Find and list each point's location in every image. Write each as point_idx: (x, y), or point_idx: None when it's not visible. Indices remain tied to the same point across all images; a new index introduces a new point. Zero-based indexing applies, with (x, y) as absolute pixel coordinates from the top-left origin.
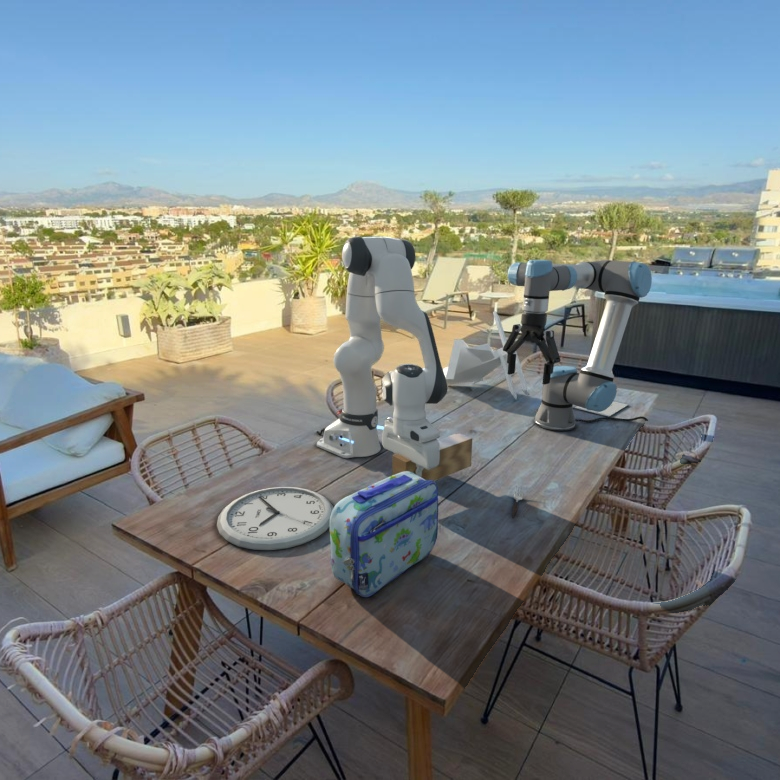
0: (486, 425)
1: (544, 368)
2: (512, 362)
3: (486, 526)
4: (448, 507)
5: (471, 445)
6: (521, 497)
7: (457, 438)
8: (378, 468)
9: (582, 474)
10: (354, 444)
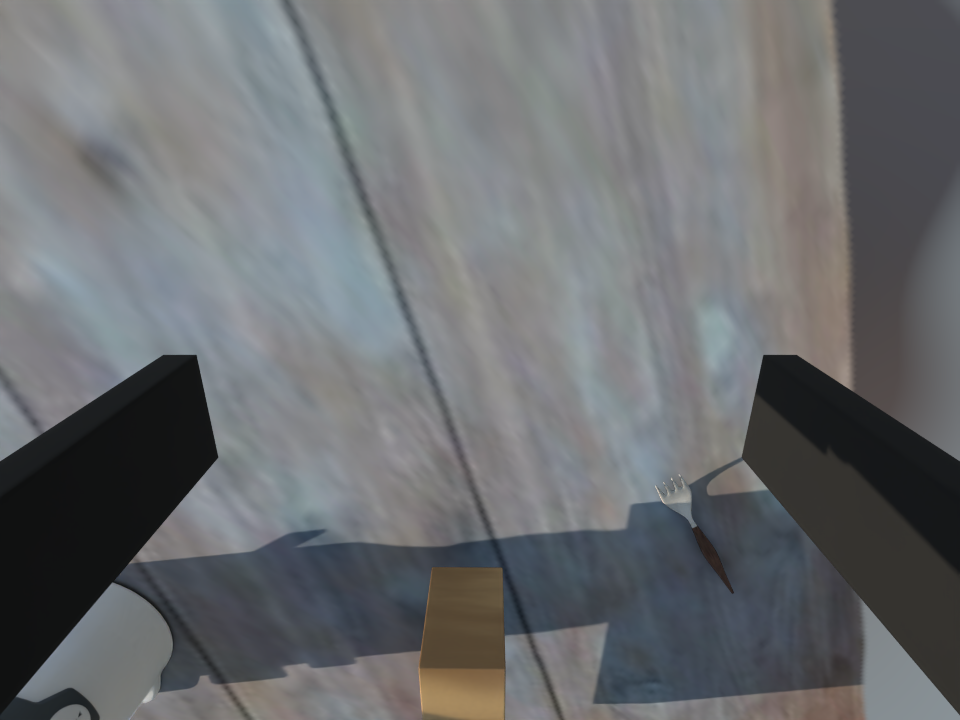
0: (45, 9)
1: (899, 630)
2: (101, 530)
3: (694, 644)
4: (567, 652)
5: (504, 642)
6: (686, 492)
7: (465, 703)
8: (267, 659)
9: (765, 139)
10: (131, 713)
